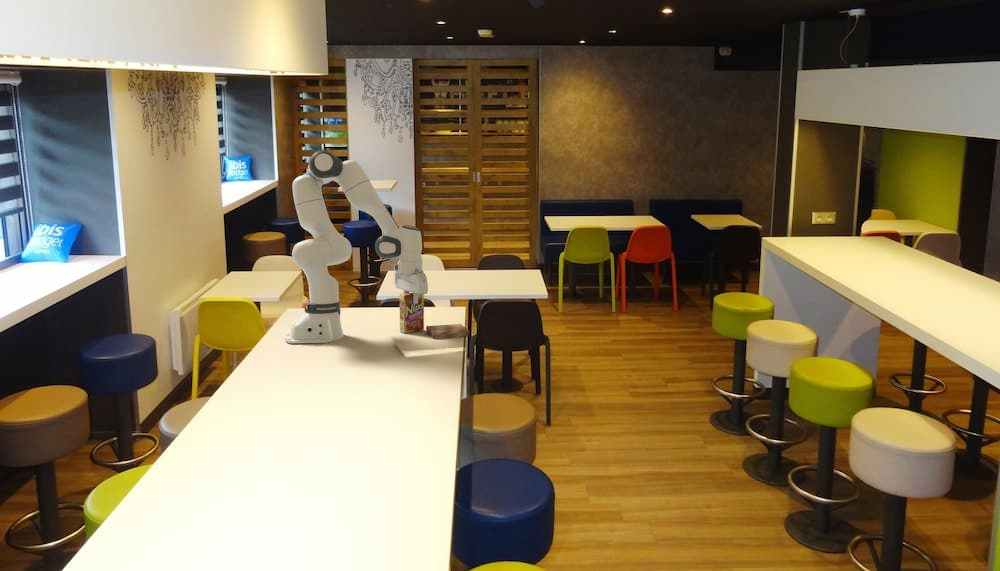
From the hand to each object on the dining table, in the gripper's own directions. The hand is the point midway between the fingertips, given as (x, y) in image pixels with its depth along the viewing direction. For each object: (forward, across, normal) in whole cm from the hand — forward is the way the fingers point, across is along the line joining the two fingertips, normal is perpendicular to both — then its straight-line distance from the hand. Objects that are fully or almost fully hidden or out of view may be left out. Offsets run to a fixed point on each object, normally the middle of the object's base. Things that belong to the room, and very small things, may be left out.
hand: (411, 302), depth 344 cm
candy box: (+12, 0, 0) cm, 12 cm away
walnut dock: (+12, -12, -9) cm, 19 cm away
